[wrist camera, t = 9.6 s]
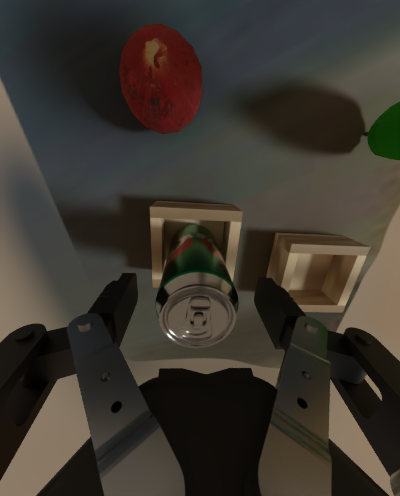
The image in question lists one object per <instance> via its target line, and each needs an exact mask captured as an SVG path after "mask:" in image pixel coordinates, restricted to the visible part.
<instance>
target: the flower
mask: <svg viewBox="0 0 400 496" xmlns="http://www.w3.org/2000/svg"><path fill="white" fill-rule="evenodd" d="M367 136H368V145H369V147H370V149H371V151H372V152H373V153H374V154H375V155H378V156H381V157H385V158H389V159H395V160H400V102H398V103H397V104H395V105H393V106H391V107H390V108H389V109H388V110H386V111H385V112H384V113H383V114H382V115H381V116H380V117H379V118H378V119H377V120H376V121H375V123H374V124H373V125H372V127H371V128H370V130H369V133H367Z"/></svg>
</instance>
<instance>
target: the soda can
mask: <svg viewBox="0 0 400 496" xmlns="http://www.w3.org/2000/svg"><path fill="white" fill-rule="evenodd" d="M238 304H239V302H238V295H237V292H236V290H235V287H234V285H233V282H232V280H231V277H230V275H229V272H228V270H227V267H226V265H225V262H224V260H223V257H222V255H221V252H220V250H219V247H218V245H217V242H216V240H215V237H214V235H213V234H212V233H211V231H209V230H208V229H207V228H205V227H203V226H201V225H187V226H184V227H182V228H181V229H179V230H178V231H177V232H176V233H175V235H174V236H173V238H172V241H171V245H170V249H169V252H168V256H167V260H166V264H165V267H164V271H163V275H162V279H161V282H160V286H159V290H158V293H157V297H156V303H155V308H156V313H157V316H158V318H159V323H160V326H161V329H162V331H163V333H164V334H165V335H166V336H167V337H168V338H169V339H170V340H171V341H173V342H174V343H176V344H178V345H181V346H184V347H189V348H203V347H208V346H212V345H214V344H216V343H218V342H220V341H222V340H223V339H224V338H226V337H227V336H228V335H229V334H230V332H231V331H232V330H233V328H234V326H235V322H236V315H237V310H238Z"/></svg>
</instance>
